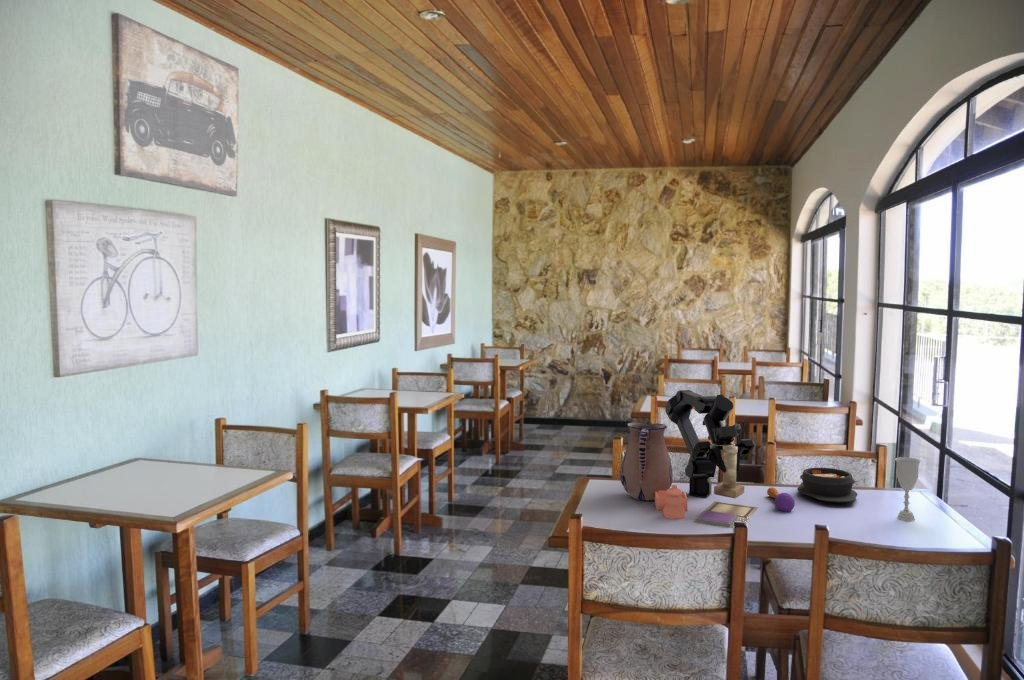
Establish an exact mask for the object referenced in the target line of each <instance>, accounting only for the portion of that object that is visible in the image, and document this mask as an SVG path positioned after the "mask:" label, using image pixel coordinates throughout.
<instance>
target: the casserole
mask: <svg viewBox="0 0 1024 680" xmlns="http://www.w3.org/2000/svg"><path fill="white" fill-rule="evenodd" d="M799 477H800V479H801V481H802V482H801V483H800V484H799V485H798V487H797V488H796V489H797V491H798V492H799V493H801V494H802V495H805V496H808V497H810V498H812V499H815V500H818V501H822V502H828V503H851V502H855V501H856V500H857V496H858V492H856V491H855V490H854V489H853V485H854V484H855V483H856V480H855V479H854V477H853V474H852V473H851V472H849V471H846V470H843V469H838V468H831V467H811V468H806V469H805V468H804V469H803V471H802V474H801V475H800V476H799Z"/></svg>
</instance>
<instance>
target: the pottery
mask: <svg viewBox="0 0 1024 680" xmlns="http://www.w3.org/2000/svg"><path fill="white" fill-rule="evenodd" d="M654 506H655V509H656V511H662V512H663V516H664V518H667V519H670V520H680V519H681V520H682V519H683V518H685V515H686V512H688V497H687V494H686V492H685V491H684V490H681V489H680V488H678V485H676V484H671V487H670V489H668V490H667V491H661V490H660V491H658V492H656V491H655V500H654Z"/></svg>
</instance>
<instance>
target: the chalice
mask: <svg viewBox="0 0 1024 680" xmlns="http://www.w3.org/2000/svg"><path fill="white" fill-rule="evenodd" d="M894 461H895V463H896V472H895V473H896V474H895V476H896V478H897V481H898V484H899V486H900V487H901V489H902V490H904V495H903V498H904V501H903V504H904V508H903V509H901V510H899V513H898V515H897V516H896V519H898V520H900V521H904V522H914V521H916V518H915V515H914V512H913V511H911V510H910V509H909V504H911V503H910V502H909V499H910V495H909V491H911V490H913V488H914V487H915V485H916V484H917V480H918V478H919V465H920V463H921V460H920V459H918V458H915V457H914V458H913V457H903V456H900V457H899V456H898V457H895V458H894Z"/></svg>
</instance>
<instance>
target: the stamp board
mask: <svg viewBox="0 0 1024 680" xmlns="http://www.w3.org/2000/svg"><path fill="white" fill-rule="evenodd" d="M759 507H760V506H759ZM759 507H758V506H752V505H745V504H737V503H730V502H723V501H713V502H712V503H711V504H710V505H709V506H708V507H707V508H706V509H705V510H708V511H715V512H722V513H729V514H736V515H738V519H737V520H736V521H741V522H745V521H746V522H745V524H746V523H747V522H748V521H747V520H750V518H748V519H747V517H749V516H751V517H752V516H753V515H754V514H755V512H756V511H757V510H758V509H759ZM705 510H704V511H705ZM704 511H702V512H701V513H700V514H699V515H701V514H702V513H703V512H704ZM741 515H743V516H741ZM743 518H744V519H743ZM740 519H741V520H740ZM743 520H744V521H743ZM692 523H695V524H696V523H697V524H702V525H709V526H716V527H721V528H722V527H723V528H727V529H728V528H729V529H734V528H733V524H732V525H731V526H730V527H726V526H719V525H713V524H706V523H700V522H696V518H695V519H694V520H692Z"/></svg>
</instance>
